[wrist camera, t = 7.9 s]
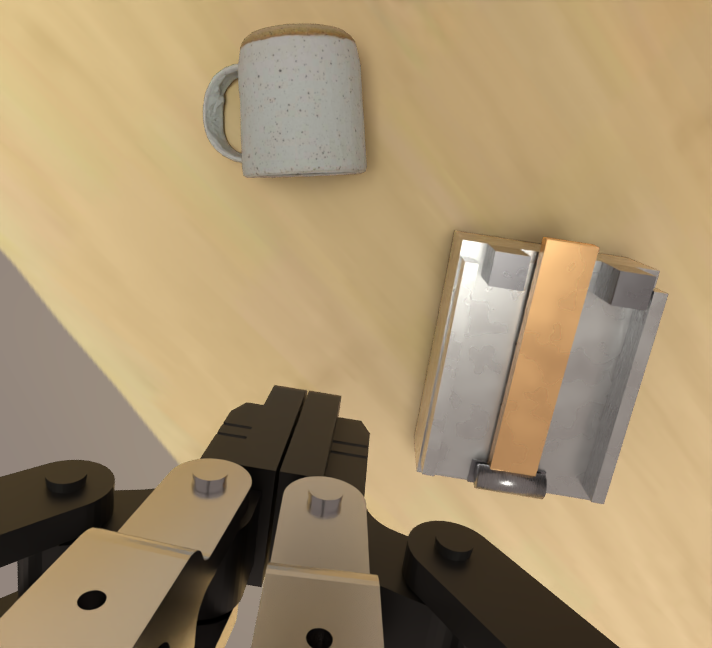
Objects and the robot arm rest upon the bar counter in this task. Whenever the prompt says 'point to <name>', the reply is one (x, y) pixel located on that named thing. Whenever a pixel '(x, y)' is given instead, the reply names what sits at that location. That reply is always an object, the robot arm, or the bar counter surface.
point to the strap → (538, 368)
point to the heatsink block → (495, 355)
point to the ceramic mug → (293, 103)
